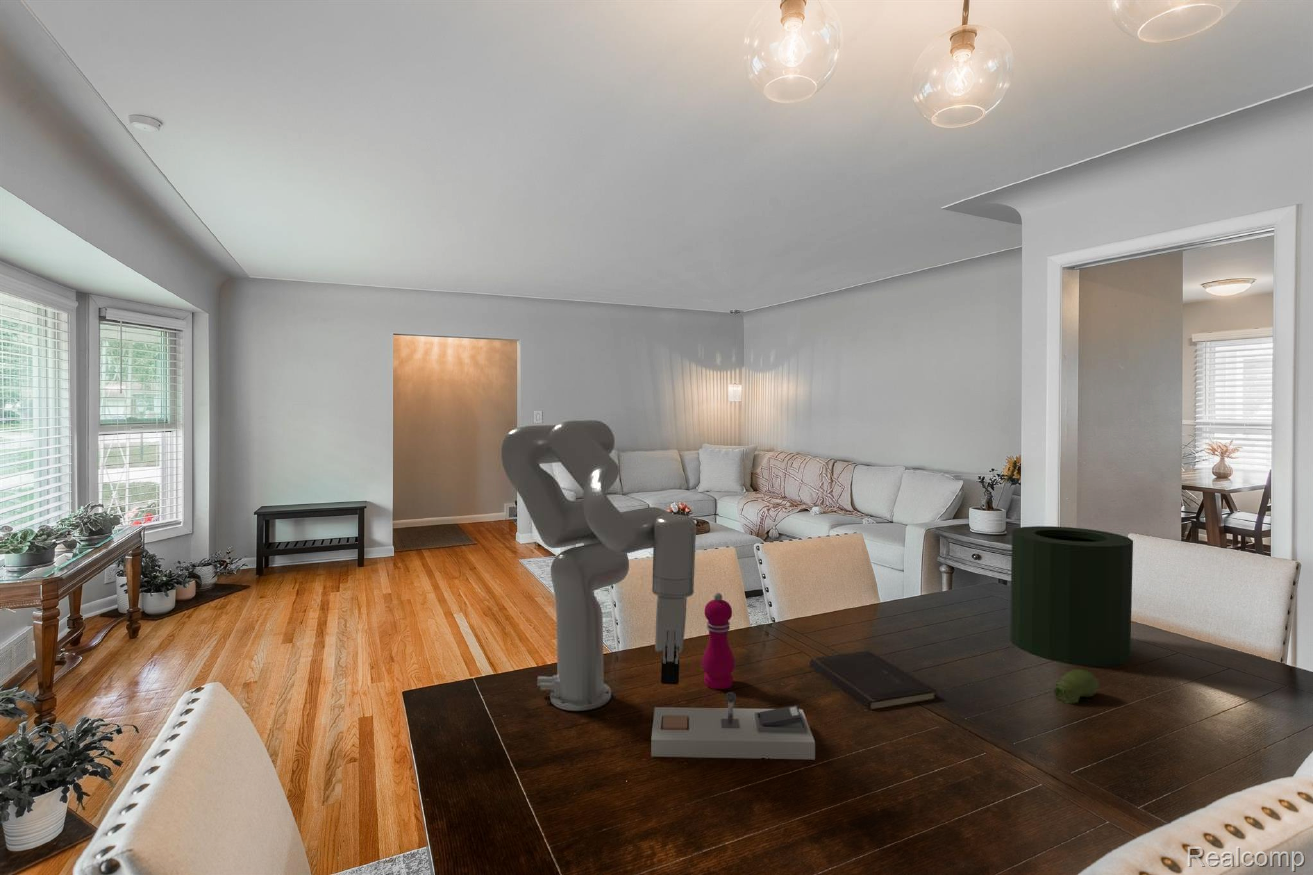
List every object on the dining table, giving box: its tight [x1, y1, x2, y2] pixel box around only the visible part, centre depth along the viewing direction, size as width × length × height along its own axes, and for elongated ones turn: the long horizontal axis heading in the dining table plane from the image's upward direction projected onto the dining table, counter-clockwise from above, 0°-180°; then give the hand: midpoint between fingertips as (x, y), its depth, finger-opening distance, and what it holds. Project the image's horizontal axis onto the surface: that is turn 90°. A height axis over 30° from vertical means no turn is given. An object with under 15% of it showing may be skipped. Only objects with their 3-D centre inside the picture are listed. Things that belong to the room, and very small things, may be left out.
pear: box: [1053, 668, 1099, 705], centre depth 132 cm, size 6×5×10 cm
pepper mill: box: [701, 592, 736, 690], centre depth 139 cm, size 7×7×20 cm
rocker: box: [759, 704, 802, 727], centre depth 115 cm, size 7×4×1 cm, turn 87°
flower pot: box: [1009, 525, 1134, 668], centre depth 159 cm, size 25×25×28 cm
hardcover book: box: [809, 650, 938, 711], centre depth 140 cm, size 16×23×2 cm
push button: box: [663, 715, 687, 730], centre depth 116 cm, size 4×4×3 cm
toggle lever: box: [725, 691, 737, 724], centre depth 114 cm, size 2×2×7 cm
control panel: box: [650, 706, 816, 760], centre depth 116 cm, size 28×12×4 cm, turn 87°
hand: (669, 681), depth 117 cm, fingers closed
